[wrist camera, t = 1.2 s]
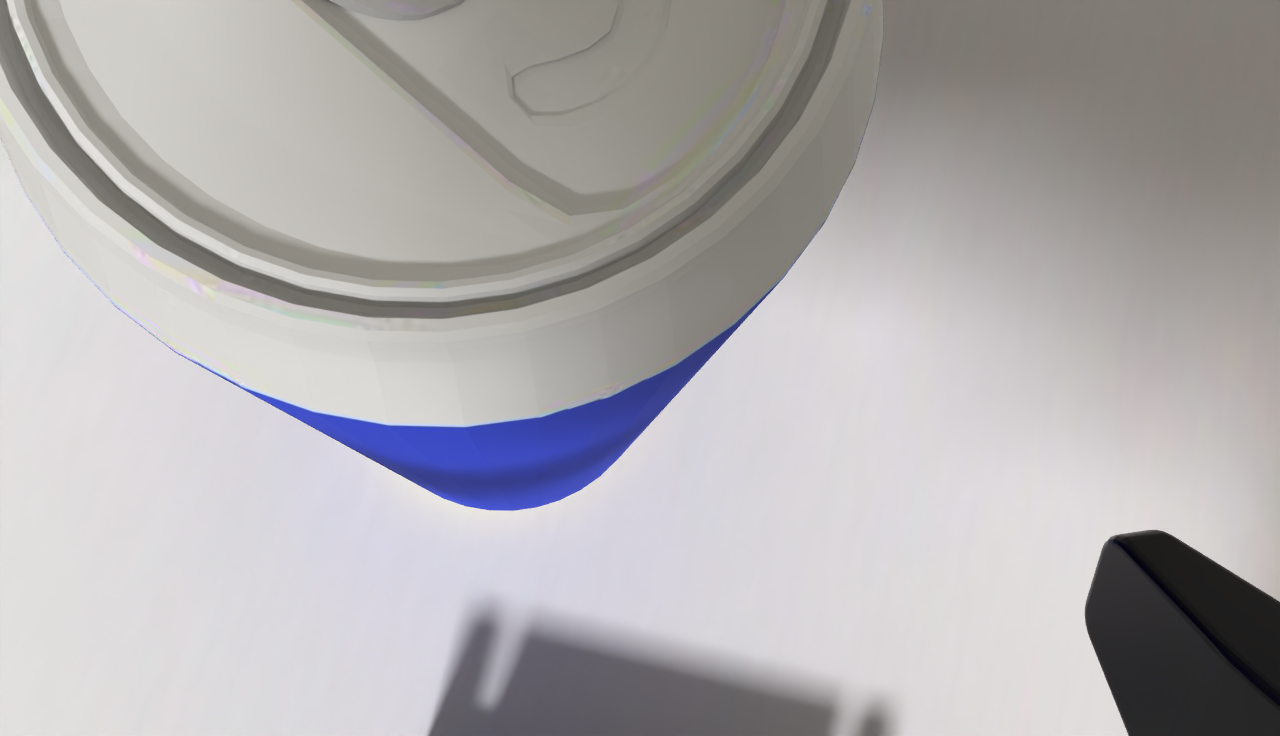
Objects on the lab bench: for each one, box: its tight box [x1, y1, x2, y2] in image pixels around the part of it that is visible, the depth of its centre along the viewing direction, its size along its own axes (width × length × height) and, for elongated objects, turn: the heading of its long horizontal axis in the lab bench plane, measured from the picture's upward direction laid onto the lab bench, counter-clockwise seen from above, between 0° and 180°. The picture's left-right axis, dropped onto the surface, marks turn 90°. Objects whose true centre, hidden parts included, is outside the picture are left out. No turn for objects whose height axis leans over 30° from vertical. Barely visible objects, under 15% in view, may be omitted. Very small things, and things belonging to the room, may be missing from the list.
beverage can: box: [0, 0, 883, 511], centre depth 13 cm, size 5×5×15 cm
